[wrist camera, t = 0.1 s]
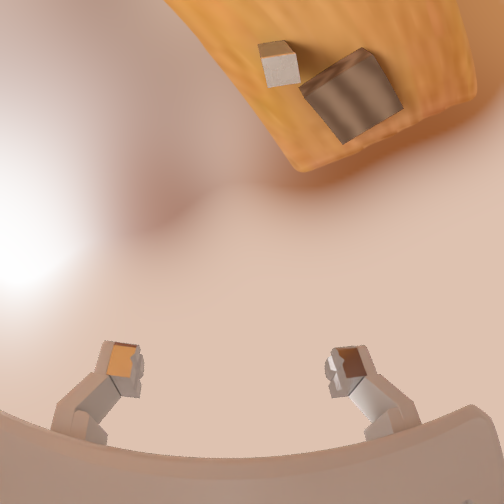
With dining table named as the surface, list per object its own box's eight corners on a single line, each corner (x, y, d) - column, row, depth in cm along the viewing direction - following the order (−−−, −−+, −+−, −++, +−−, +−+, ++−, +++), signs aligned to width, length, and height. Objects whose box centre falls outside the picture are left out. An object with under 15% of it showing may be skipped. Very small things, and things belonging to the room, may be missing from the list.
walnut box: (361, 46, 41) (372, 54, 38) (391, 96, 50) (403, 108, 46) (298, 86, 50) (304, 97, 46) (335, 130, 58) (342, 144, 55)
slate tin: (256, 44, 42) (261, 58, 35) (284, 39, 41) (295, 53, 34) (262, 67, 46) (267, 87, 39) (289, 63, 45) (300, 82, 38)
